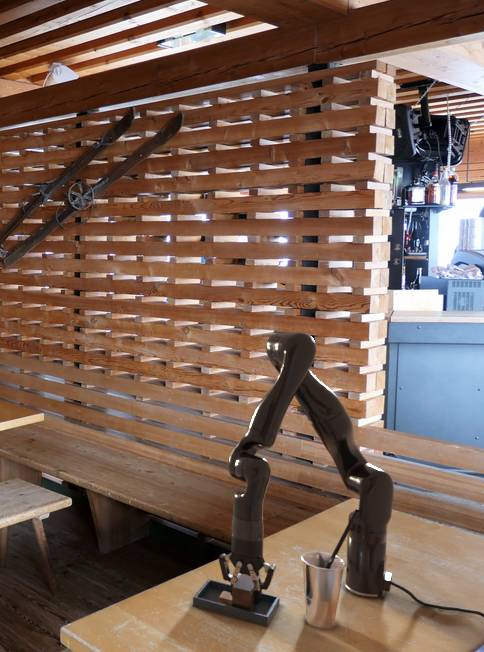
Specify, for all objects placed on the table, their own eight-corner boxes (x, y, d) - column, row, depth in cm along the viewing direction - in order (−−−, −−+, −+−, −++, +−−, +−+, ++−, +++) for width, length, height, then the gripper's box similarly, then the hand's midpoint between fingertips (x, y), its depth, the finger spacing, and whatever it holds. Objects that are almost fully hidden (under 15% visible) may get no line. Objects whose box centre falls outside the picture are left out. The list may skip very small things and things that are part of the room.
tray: (279, 605, 185) (279, 596, 185) (267, 626, 175) (267, 617, 175) (208, 587, 195) (208, 578, 195) (192, 606, 185) (193, 597, 185)
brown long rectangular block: (259, 598, 186) (260, 577, 186) (250, 613, 179) (250, 591, 178) (241, 594, 189) (242, 573, 188) (231, 608, 181) (232, 587, 181)
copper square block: (239, 600, 187) (239, 594, 187) (234, 607, 183) (234, 601, 183) (223, 596, 189) (223, 590, 189) (218, 603, 185) (218, 597, 185)
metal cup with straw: (354, 637, 171) (359, 510, 168) (302, 631, 173) (307, 506, 171) (343, 614, 181) (348, 495, 179) (294, 609, 183) (299, 491, 181)
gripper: (280, 534, 182) (279, 601, 183) (223, 523, 189) (221, 587, 191) (273, 545, 175) (271, 614, 177) (214, 532, 183) (212, 599, 184)
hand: (245, 600), depth 184 cm, fingers closed on brown long rectangular block, 4 cm apart
